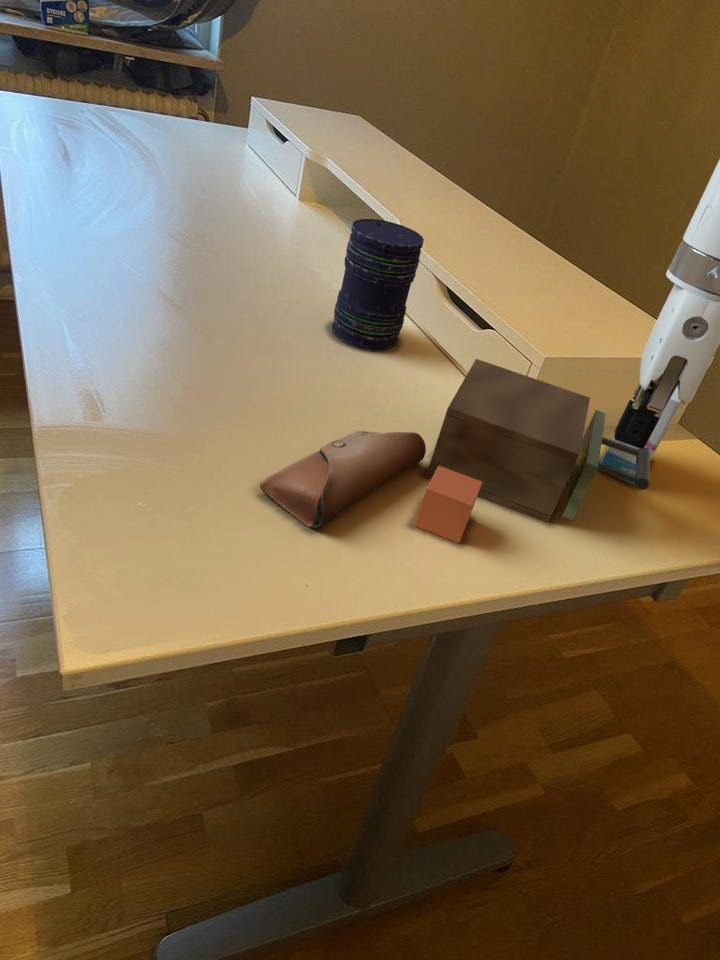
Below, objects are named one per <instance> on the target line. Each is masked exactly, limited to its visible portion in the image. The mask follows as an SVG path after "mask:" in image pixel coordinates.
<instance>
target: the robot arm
mask: <svg viewBox="0 0 720 960" xmlns="http://www.w3.org/2000/svg"><path fill="white" fill-rule="evenodd" d="M665 276H666V277H667V279H669V281H670V282H671V283H673V286H672V288H671V290H670V292H669V294H668V296H667V298H666V300H665V303H664V305H663V307H662V309H661V311H660V312H659V315H658V317H657V319H656V322H655V323H654V326H653V328H652V330H651V332H650V335H649V337H648V339H647V342H646V344H645V346H644V349H643V352H642V355H641V358H640V370H639V382H638V384H637V385H636V387H635V390H634V392H633V395H632V399H629V400H628V402H627V405H626V407H625V409H624V411H623V413H622V415H621V417H620V418H619V421H618V422H617V425H616V427H615V429H614V435H613V437H614V438H615V439H616V440H618V441H620V442H623V443H626V444H629V445H631V446H634V447H637V448H640V449H642V448H644V447H645V446H646V444H647V442H648V440H649V438H650V436H651V434H652V432H653V430H654V429H655V427H656V425H657V423H658V421H659V419H660V417H661V414H662V412H663V410H664V409H665V407H666V405H667V403H668V402H669V400H670V398H671V396H672V394H673V393H674V391H675V389H676V387H677V386H678V394H679V400H680V401H681V405H687V404H690V403H691V402H692V401H693V399H694V397H695V395H696V393H697V391H698V389H699V387H700V385H701V383H702V381H703V379H704V377H705V375H706V372H707V371H708V368H709V367H710V364H711V362H712V361H713V358H714V356H715V355H716V352H717V350H718V348H719V346H720V158H719V160H718V161H717V164H716V166H715V168H714V170H713V172H712V175H711V176H710V179H709V181H708V183H707V185H706V187H705V189H704V192H703V193H702V196H701V198H700V200H699V202H698V204H697V206H696V208H695V211H694V213H693V215H692V217H691V219H690V222H689V223H688V225H687V228H686V229H685V232H684V235H683V236H682V239H681V240H680V243H679V245H678V247H677V249H676V251H675V253H674V255H673V257H672V260H671V262H670V264H669V266H668V268H667V269H666V273H665ZM632 400H634V401H632Z"/></svg>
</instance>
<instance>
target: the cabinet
mask: <svg viewBox="0 0 720 960" xmlns="http://www.w3.org/2000/svg"><path fill="white" fill-rule="evenodd" d="M590 401H591V397H589V396H586V395H584V394H580V393H577V392H574V391H572V390H569V389H566V388H563V387H561V386H557V385H554V384H552V383H548V382H545V381H543V380H540V379H537V378H533V377H531V376H528V375H526V374H522V373H519V372H516V371H513V370H511V369H507V368H504V367H502V366H498V365H497V364H493V363H490V362H486V361H485V360H481V359H478V358H475V360H474V361H473V363H472V365H471V366H470V368H469V370H468V372H467V373H466V375H465V377H464V379H463V381H462V382H461V383H460V385H459V387H458V389H457V391H456V392H455V395H454V396H453V398H452V400H451V401H450V403H449V405H448V407H447V408H446V412H445V415H444V419H443V421H442V424H441V427H440V430H439V434H438V437H437V440H436V443H435V447H434V450H433V453H432V457H431V459H430V462H429V466H428V469H427V472H426V475H425V476H426V477H427V478H429V479H432V477H433V475H434V473H435V471H436V469H437V467H438V466H441V467H444V468H447V469H449V470H452V471H455V472H457V473H460V474H463V475H465V476H468V477H471V478H474V479H476V480H479V481H482V482H483V483H482V486H481V488H480V491H479V494H478V496H477V497H480V498H482V499H485V500H487V501H490V502H493V503H496V504H498V505H502V506H503V507H506V508H509V509H512V510H514V511H518V512H520V513H522V514H525V515H528V516H531V517H532V518H536V519H538V520H541V521H544V522H546V523H549V522H550V521H551V518H552V516H553V514H554V511H555V510H556V507H557V505H558V502H559V500H560V498H561V496H562V494H563V492H564V489H565V487H566V485H567V482H569V478H570V474H571V472H572V470H573V467H574V465H575V463H576V460H577V459H578V456H579V453H580V448H581V443H582V439H583V437H584V434H585V427H586V422H587V416H588V411H589V406H590Z"/></svg>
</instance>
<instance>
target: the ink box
mask: <svg viewBox="0 0 720 960" xmlns="http://www.w3.org/2000/svg"><path fill="white" fill-rule="evenodd" d="M631 400H632V399H631ZM632 401H634V400H632ZM681 406H682V403H681V401H680V400H679V394H678V386H677V387H676V389H675V391H674V393H673V394H672V396H671V398H670V400H669V402H668V403H667V405H666V407H665V409H664V410H663V412H662V414H661V417H660V419H659V421H658V423H657V425H656V427H655V429H654V430H653V432H652V434H651V436H650V438H649V440H648V442H647V444H646V446H645V448H647V449H649V451H650V460H652V458H653V456H654V454H655V453H656V451H657V450H658V448H659V446H660V444H661V442H662V440H663V439H664V437H665V435H666V433H667V431H668V430H669V427H670V426H671V424H672V422H673V421H674V418H675V416H676V415H677V413H678V411H679V409H680V407H681ZM611 440H613V441H615V442H618V443H621V444H624V445H627V446H630V447H633V448H635V449H639V448H637V447H634V446H631V445H629V444H626V443H623V442H620V441H618V440H616V439H615V438H614V436H612V439H611ZM600 463H602V464H605V465H608V466H611V467H614V468H616V469H619V470H622V471H625V472H628V473H630V474H633V475H635V467H636V456H635V455H632V454H629V453H626V452H623V451H620V450H617V449H615V448H612V447H609V446H607V449H606V450H605V453H604V455H603V456H602V459H601V461H600ZM609 475H610V476H612V477H614V478H617V479H619V480H621V481H623V482H626V483H628V484H630V485H632V486H634V487H635V482H634V483H633V482H630V481H628V480H625V479H622V478H619V477H616V476H614V475H611V474H609Z"/></svg>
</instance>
